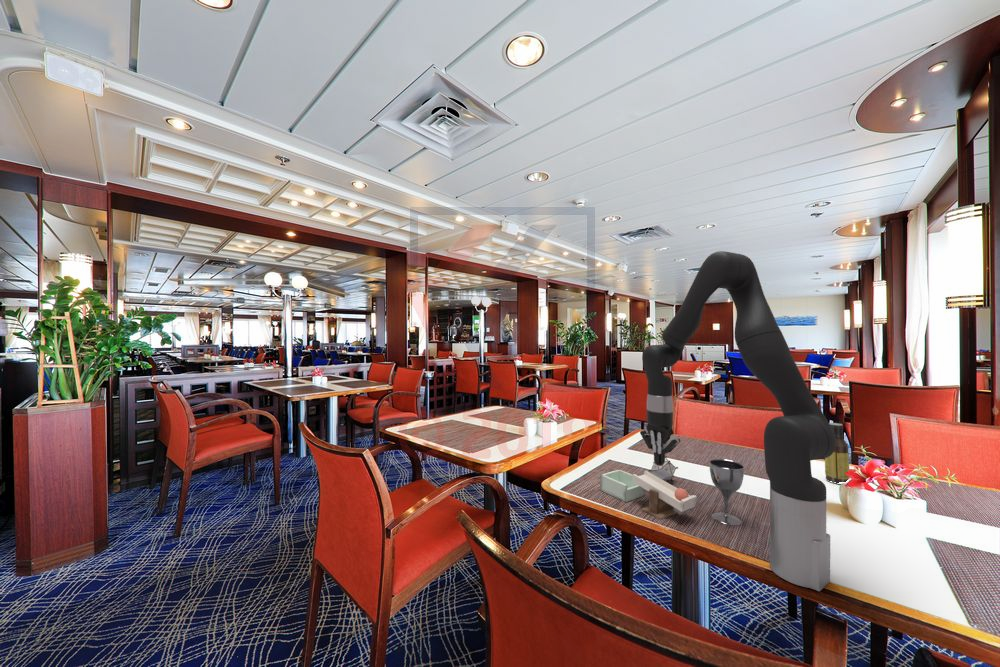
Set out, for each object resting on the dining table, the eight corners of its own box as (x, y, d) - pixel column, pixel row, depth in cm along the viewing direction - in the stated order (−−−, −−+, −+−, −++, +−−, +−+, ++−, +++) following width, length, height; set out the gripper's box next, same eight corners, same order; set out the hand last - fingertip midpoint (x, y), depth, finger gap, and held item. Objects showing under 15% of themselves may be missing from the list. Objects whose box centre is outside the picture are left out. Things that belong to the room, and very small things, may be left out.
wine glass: (727, 528, 96) (727, 470, 96) (702, 513, 103) (702, 460, 103) (751, 523, 98) (751, 467, 98) (725, 510, 105) (725, 457, 105)
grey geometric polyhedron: (669, 493, 125) (683, 476, 119) (644, 482, 127) (657, 465, 121) (668, 472, 132) (682, 455, 126) (645, 462, 134) (657, 445, 128)
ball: (689, 502, 100) (692, 491, 99) (682, 505, 98) (685, 494, 97) (677, 495, 103) (680, 484, 102) (670, 498, 101) (673, 487, 100)
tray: (644, 495, 115) (644, 479, 115) (625, 502, 110) (625, 485, 110) (618, 484, 123) (619, 469, 123) (600, 490, 118) (600, 474, 118)
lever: (710, 503, 104) (713, 489, 104) (681, 516, 97) (683, 501, 96) (660, 475, 118) (663, 462, 117) (631, 484, 110) (633, 471, 109)
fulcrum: (682, 510, 105) (682, 487, 105) (660, 520, 100) (660, 496, 100) (663, 502, 110) (663, 480, 110) (641, 511, 105) (641, 488, 105)
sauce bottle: (850, 482, 126) (850, 424, 126) (849, 487, 121) (849, 427, 121) (825, 476, 130) (825, 420, 130) (823, 481, 126) (823, 423, 126)
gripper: (687, 411, 110) (686, 469, 110) (648, 404, 121) (648, 456, 122) (672, 414, 106) (671, 474, 106) (633, 406, 118) (633, 460, 118)
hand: (659, 464), depth 114 cm, fingers closed
